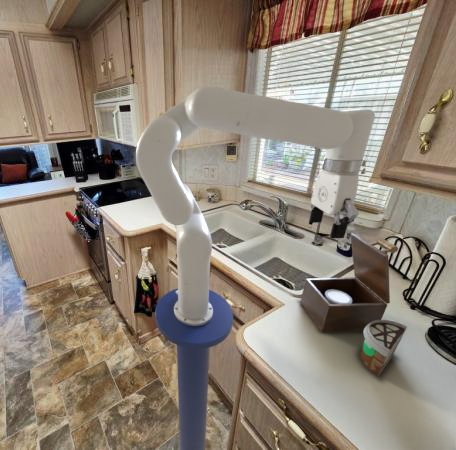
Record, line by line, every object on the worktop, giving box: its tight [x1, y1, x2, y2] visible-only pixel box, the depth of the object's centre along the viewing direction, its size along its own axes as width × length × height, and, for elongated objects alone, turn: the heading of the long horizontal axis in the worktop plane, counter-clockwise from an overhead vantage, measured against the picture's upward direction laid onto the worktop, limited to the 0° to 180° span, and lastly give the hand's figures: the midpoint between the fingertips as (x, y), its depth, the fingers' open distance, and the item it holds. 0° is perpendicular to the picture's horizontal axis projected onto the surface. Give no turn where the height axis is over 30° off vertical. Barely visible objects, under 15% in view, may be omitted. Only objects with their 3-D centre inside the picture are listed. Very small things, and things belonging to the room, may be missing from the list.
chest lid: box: [350, 232, 399, 305], centre depth 70 cm, size 16×13×6 cm
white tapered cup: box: [325, 289, 352, 304], centre depth 76 cm, size 7×7×7 cm
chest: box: [299, 276, 388, 333], centre depth 76 cm, size 16×13×10 cm
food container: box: [360, 319, 408, 377], centre depth 63 cm, size 12×6×10 cm, turn 123°
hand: (325, 229), depth 67 cm, fingers open, 9 cm apart
